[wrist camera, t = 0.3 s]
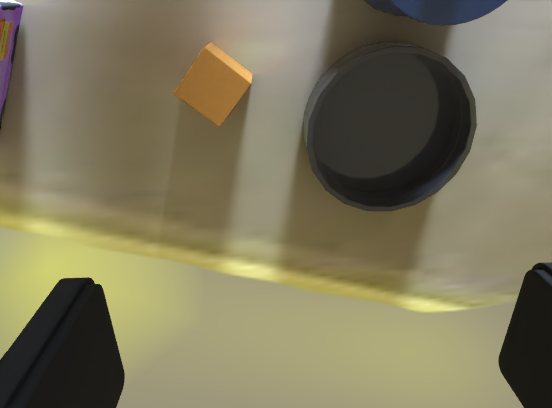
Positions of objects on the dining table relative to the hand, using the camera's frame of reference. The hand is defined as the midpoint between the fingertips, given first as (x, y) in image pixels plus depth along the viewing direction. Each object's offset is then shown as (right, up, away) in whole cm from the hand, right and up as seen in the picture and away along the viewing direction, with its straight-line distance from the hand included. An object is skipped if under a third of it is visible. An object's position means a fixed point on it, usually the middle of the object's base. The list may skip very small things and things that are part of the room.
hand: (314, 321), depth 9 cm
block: (-6, +14, +27) cm, 31 cm away
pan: (+9, +10, +29) cm, 32 cm away
